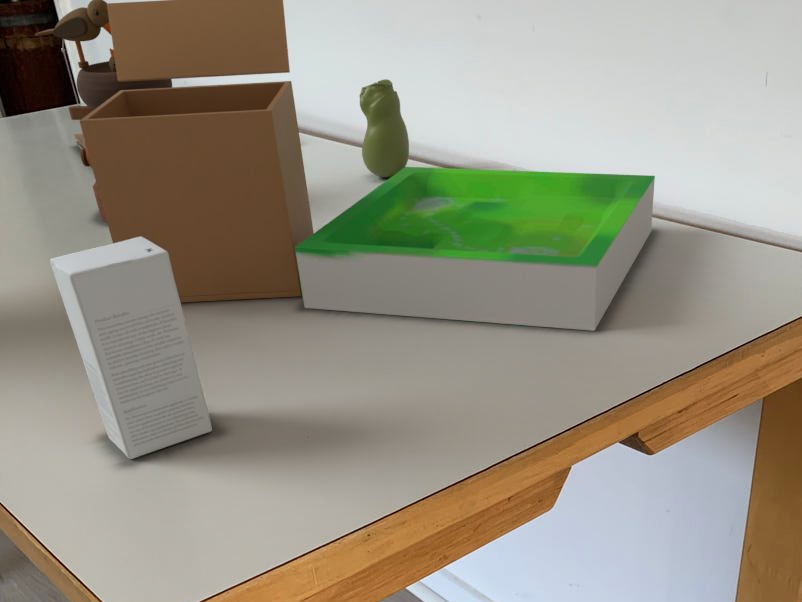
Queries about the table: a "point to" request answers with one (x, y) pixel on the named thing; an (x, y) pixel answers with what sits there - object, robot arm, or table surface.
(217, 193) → the carton
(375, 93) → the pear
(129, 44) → the flap
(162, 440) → the cosmetic box
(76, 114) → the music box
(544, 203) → the green flat square box
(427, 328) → the table surface
